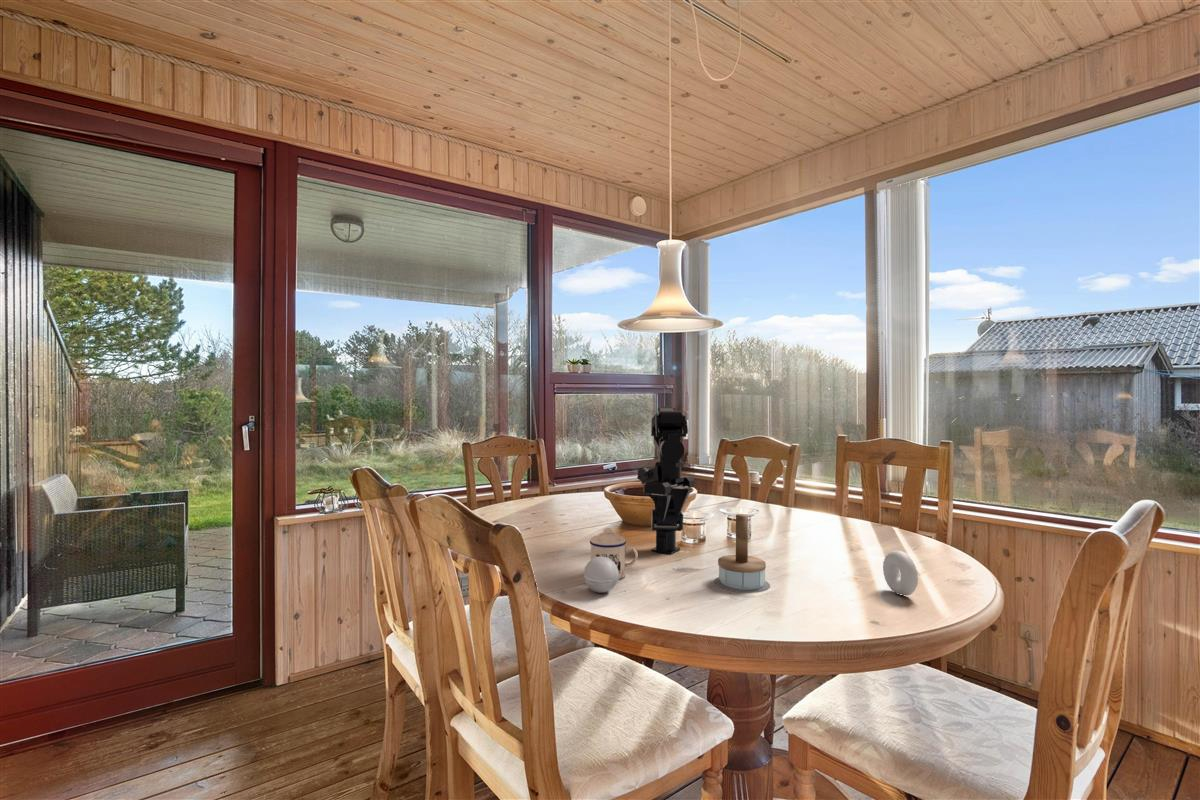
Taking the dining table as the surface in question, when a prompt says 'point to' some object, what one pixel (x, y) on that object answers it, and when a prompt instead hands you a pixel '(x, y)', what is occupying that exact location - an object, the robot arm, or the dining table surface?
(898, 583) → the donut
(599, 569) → the bath bomb
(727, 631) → the dining table surface
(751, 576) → the bowl
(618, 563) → the teacup with lid
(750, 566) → the lid
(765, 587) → the trivet
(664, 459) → the robot arm
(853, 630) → the dining table surface
